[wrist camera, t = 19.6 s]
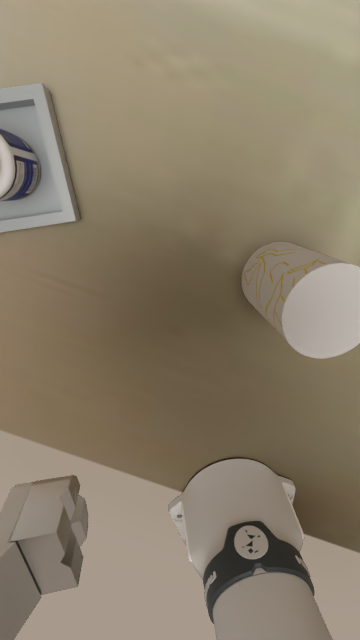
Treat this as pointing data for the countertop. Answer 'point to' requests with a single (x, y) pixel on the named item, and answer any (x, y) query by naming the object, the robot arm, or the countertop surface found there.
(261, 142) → the countertop surface
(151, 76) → the countertop surface
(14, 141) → the pill bottle
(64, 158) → the tray
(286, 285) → the cup
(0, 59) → the countertop surface
